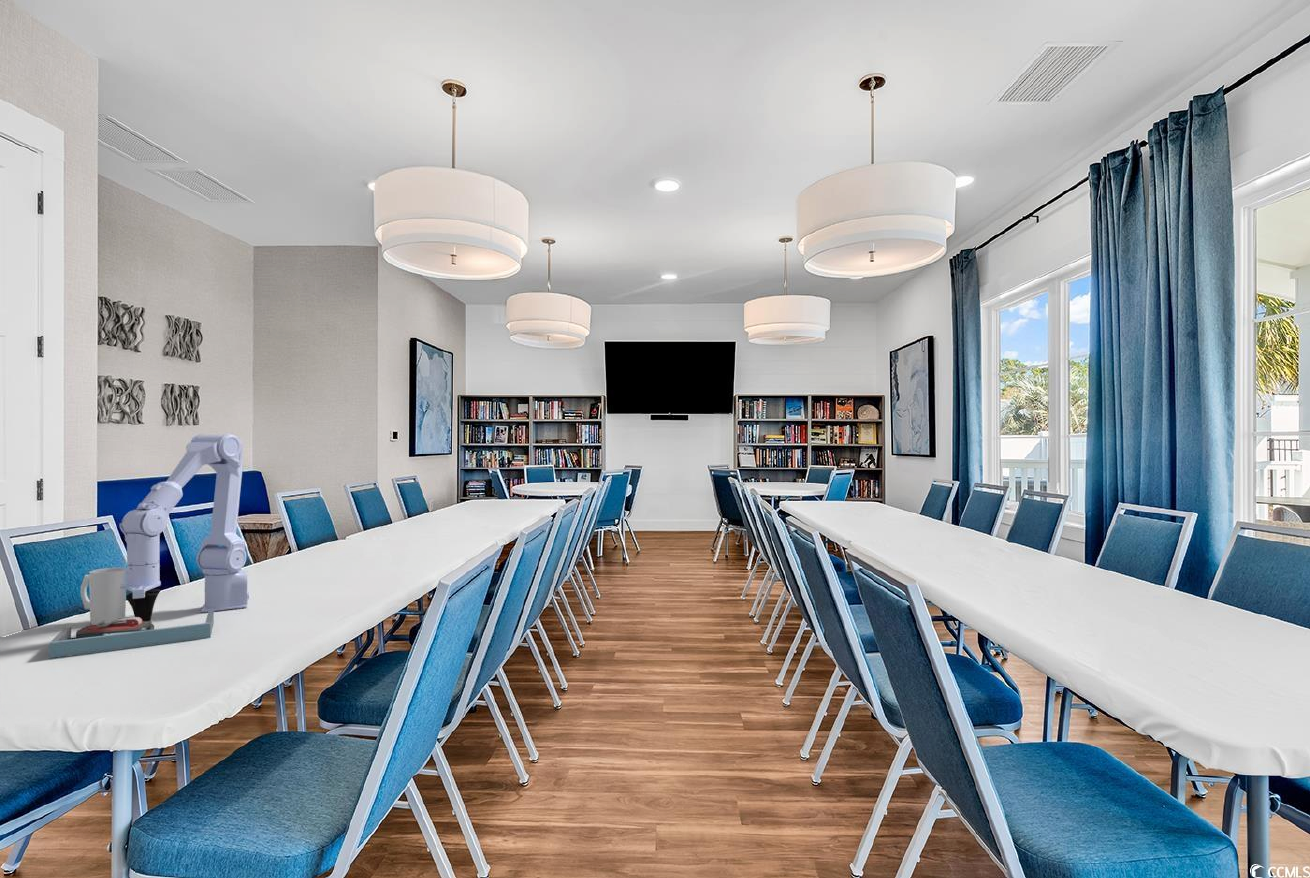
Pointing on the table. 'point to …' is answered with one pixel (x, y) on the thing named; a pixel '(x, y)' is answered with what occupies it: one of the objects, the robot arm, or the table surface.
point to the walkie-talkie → (114, 627)
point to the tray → (128, 639)
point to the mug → (105, 594)
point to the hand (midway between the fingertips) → (143, 624)
